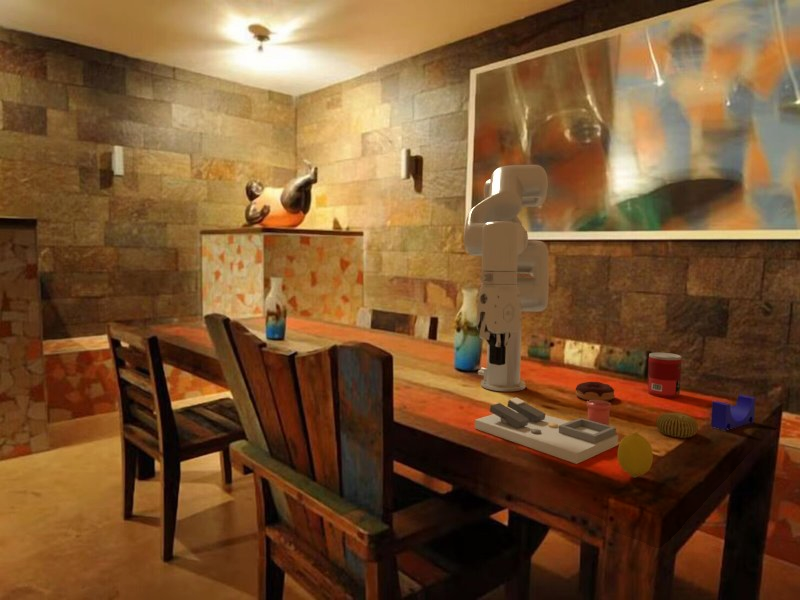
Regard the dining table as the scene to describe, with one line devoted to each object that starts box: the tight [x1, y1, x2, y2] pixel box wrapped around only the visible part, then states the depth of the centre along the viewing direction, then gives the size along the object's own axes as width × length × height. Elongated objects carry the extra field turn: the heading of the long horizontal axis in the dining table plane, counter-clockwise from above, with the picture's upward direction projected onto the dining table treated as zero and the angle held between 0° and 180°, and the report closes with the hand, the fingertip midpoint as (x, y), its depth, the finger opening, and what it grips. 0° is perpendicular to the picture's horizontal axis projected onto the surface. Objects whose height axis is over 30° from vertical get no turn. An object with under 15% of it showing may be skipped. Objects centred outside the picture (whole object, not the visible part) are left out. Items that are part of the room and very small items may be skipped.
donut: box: [575, 381, 616, 402], centre depth 140 cm, size 10×10×4 cm
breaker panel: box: [474, 408, 619, 465], centre depth 110 cm, size 25×15×4 cm, turn 40°
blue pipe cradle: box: [710, 394, 756, 430], centre depth 119 cm, size 12×4×6 cm, turn 120°
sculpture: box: [655, 412, 699, 439], centre depth 113 cm, size 8×4×8 cm
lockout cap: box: [586, 400, 612, 426], centre depth 115 cm, size 5×5×6 cm
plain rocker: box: [489, 402, 529, 428], centre depth 112 cm, size 8×3×2 cm, turn 40°
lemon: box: [616, 431, 654, 479], centre depth 90 cm, size 6×6×8 cm
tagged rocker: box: [506, 397, 547, 422], centre depth 116 cm, size 8×3×3 cm, turn 40°
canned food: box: [646, 352, 683, 399], centre depth 144 cm, size 8×8×11 cm
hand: (497, 363), depth 114 cm, fingers closed
